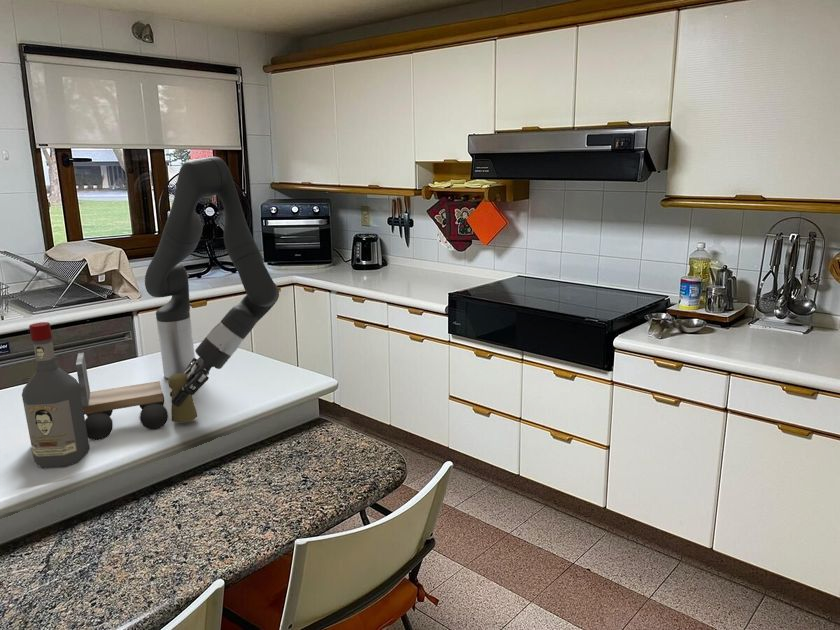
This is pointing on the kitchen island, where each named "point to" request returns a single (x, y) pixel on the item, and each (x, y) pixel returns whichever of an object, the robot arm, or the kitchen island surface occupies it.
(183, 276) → the robot arm
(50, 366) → the liquor
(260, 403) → the kitchen island surface
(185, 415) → the cork
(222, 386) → the kitchen island surface
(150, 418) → the trolley
